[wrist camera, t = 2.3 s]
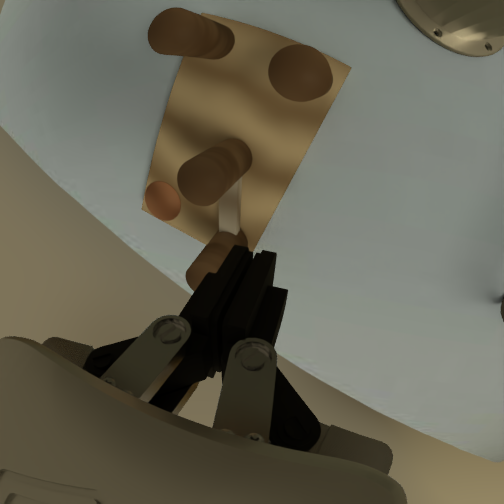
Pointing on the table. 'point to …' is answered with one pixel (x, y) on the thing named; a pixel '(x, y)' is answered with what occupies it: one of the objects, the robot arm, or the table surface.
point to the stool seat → (235, 113)
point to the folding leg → (210, 191)
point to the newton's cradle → (502, 309)
